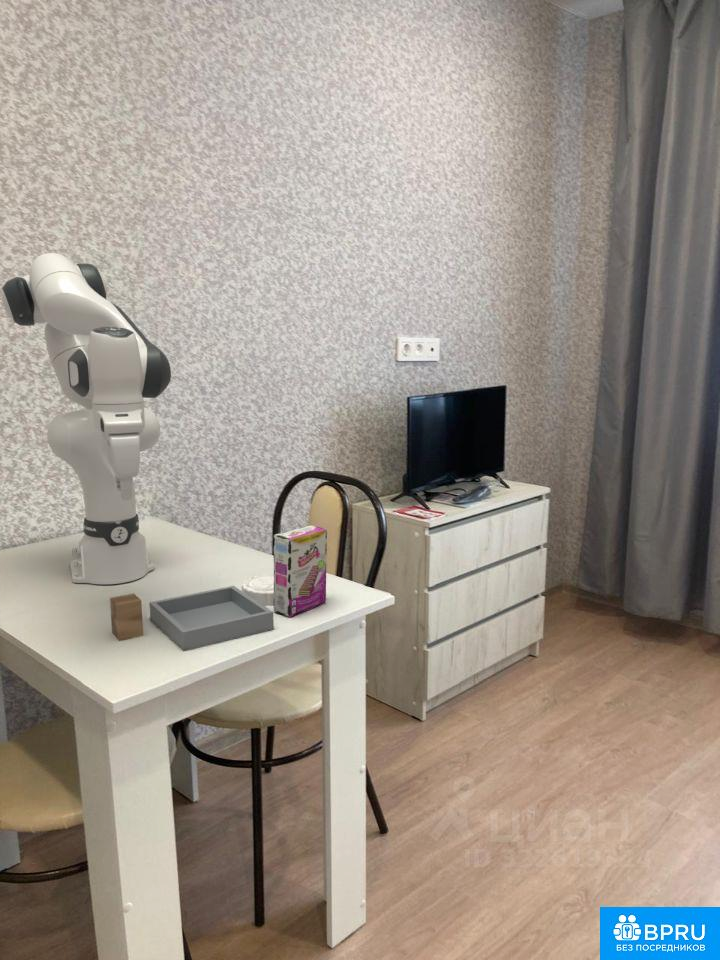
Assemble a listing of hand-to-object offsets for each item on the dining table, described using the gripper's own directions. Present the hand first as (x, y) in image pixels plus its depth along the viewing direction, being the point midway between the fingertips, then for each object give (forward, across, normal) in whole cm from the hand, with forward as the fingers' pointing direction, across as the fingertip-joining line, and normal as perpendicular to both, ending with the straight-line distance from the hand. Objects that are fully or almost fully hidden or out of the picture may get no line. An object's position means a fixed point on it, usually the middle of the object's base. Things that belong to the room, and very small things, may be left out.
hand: (124, 494), depth 136 cm
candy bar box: (+27, 0, +33) cm, 43 cm away
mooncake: (+27, -10, +29) cm, 41 cm away
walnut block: (+27, 0, -1) cm, 27 cm away
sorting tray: (+27, +1, +14) cm, 30 cm away
